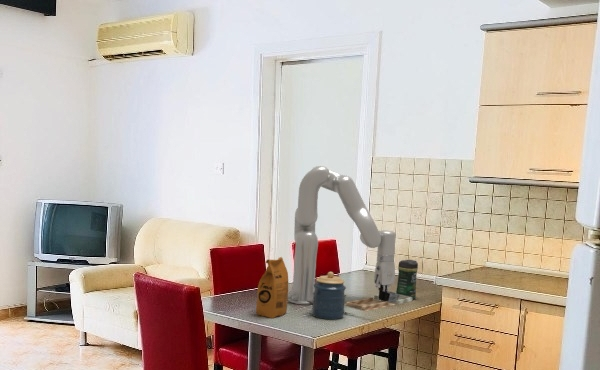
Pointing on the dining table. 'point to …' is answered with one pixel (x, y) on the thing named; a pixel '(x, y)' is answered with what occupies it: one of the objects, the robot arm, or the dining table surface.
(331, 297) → the canister
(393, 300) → the grey cube
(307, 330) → the dining table surface
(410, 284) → the coffee jar
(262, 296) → the coffee package
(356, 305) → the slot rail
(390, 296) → the gray cube
